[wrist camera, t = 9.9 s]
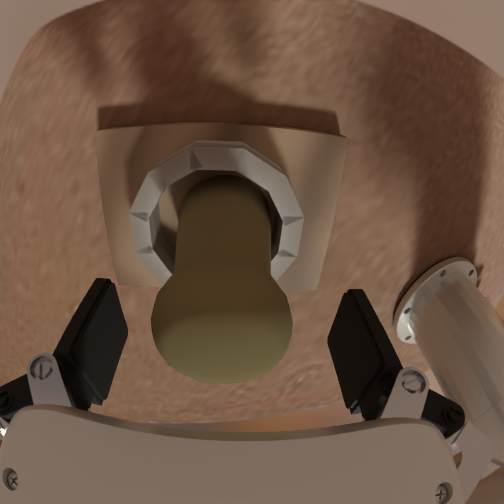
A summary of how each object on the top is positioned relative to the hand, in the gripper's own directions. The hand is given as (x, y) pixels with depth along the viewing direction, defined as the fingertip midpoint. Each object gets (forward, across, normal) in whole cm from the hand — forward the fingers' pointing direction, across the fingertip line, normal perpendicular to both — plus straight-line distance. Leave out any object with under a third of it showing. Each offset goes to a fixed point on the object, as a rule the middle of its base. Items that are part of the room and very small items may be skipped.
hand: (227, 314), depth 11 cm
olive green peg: (+9, 0, 0) cm, 9 cm away
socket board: (+10, +1, 0) cm, 10 cm away
